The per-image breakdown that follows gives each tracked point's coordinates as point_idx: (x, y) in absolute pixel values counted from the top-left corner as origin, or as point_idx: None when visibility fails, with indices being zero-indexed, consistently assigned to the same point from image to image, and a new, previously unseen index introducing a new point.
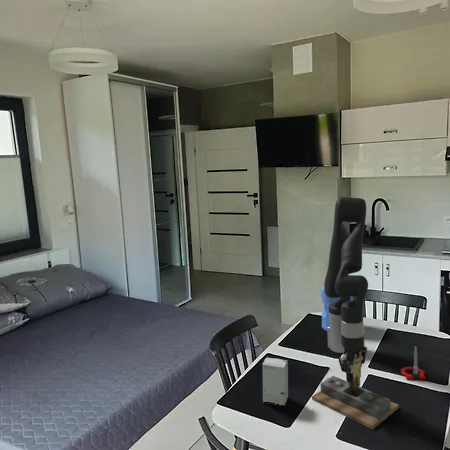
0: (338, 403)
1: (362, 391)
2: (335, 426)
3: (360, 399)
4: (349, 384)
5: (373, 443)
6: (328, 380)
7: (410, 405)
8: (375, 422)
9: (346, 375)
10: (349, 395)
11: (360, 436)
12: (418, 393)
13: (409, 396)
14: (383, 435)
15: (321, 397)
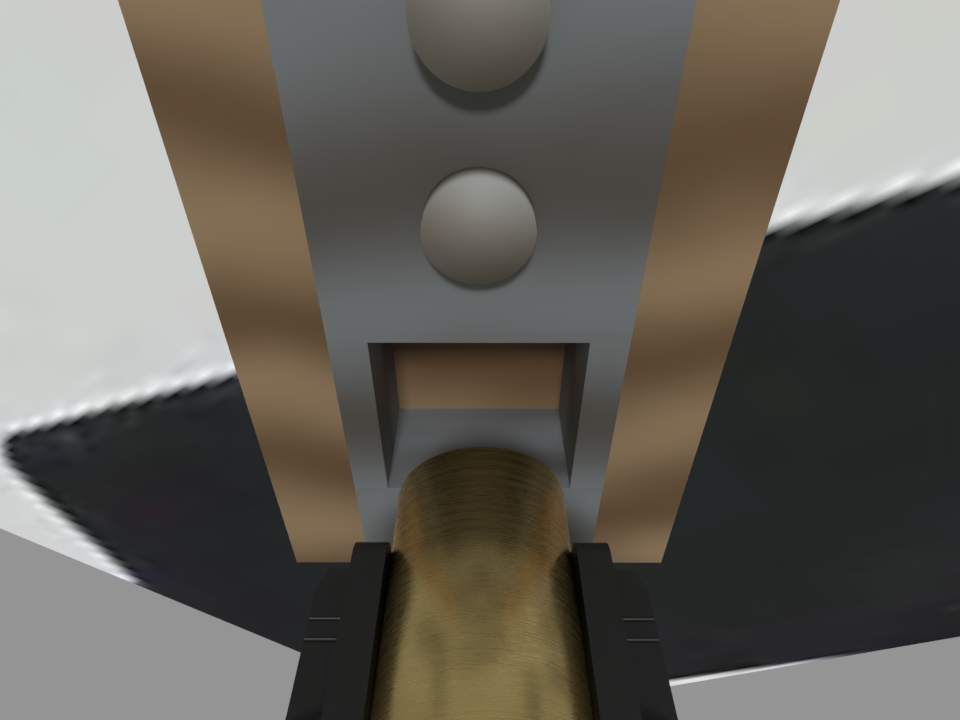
0: (299, 270)
1: (571, 445)
2: (72, 385)
3: (390, 520)
4: (399, 503)
5: (202, 581)
6: (417, 25)
7: (732, 564)
8: (344, 557)
9: (298, 671)
10: (360, 434)
11: (176, 525)
12: (929, 546)
13: (856, 528)
14: (311, 583)
15: (203, 21)
